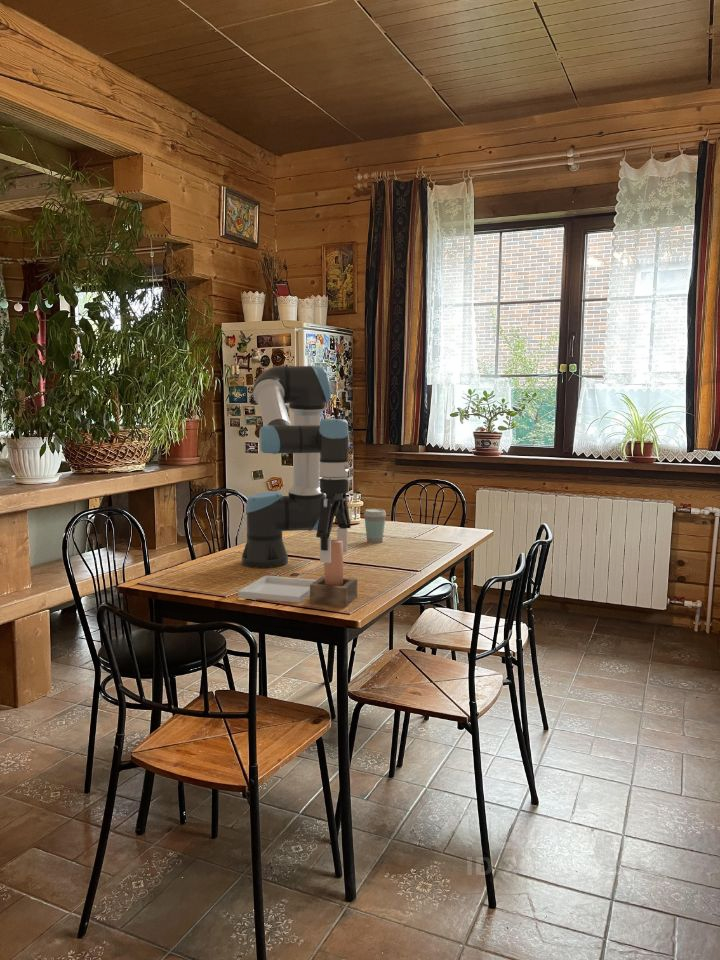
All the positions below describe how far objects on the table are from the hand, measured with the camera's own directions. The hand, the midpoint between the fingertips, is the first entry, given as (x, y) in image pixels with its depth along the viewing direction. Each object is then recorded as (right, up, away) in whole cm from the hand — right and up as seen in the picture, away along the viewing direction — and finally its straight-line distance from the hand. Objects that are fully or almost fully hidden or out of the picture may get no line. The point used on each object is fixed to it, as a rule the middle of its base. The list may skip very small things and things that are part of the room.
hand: (334, 557), depth 197 cm
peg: (0, -12, +2) cm, 12 cm away
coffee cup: (+13, -3, +83) cm, 84 cm away
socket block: (0, -13, +2) cm, 13 cm away
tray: (-15, -12, +11) cm, 22 cm away
